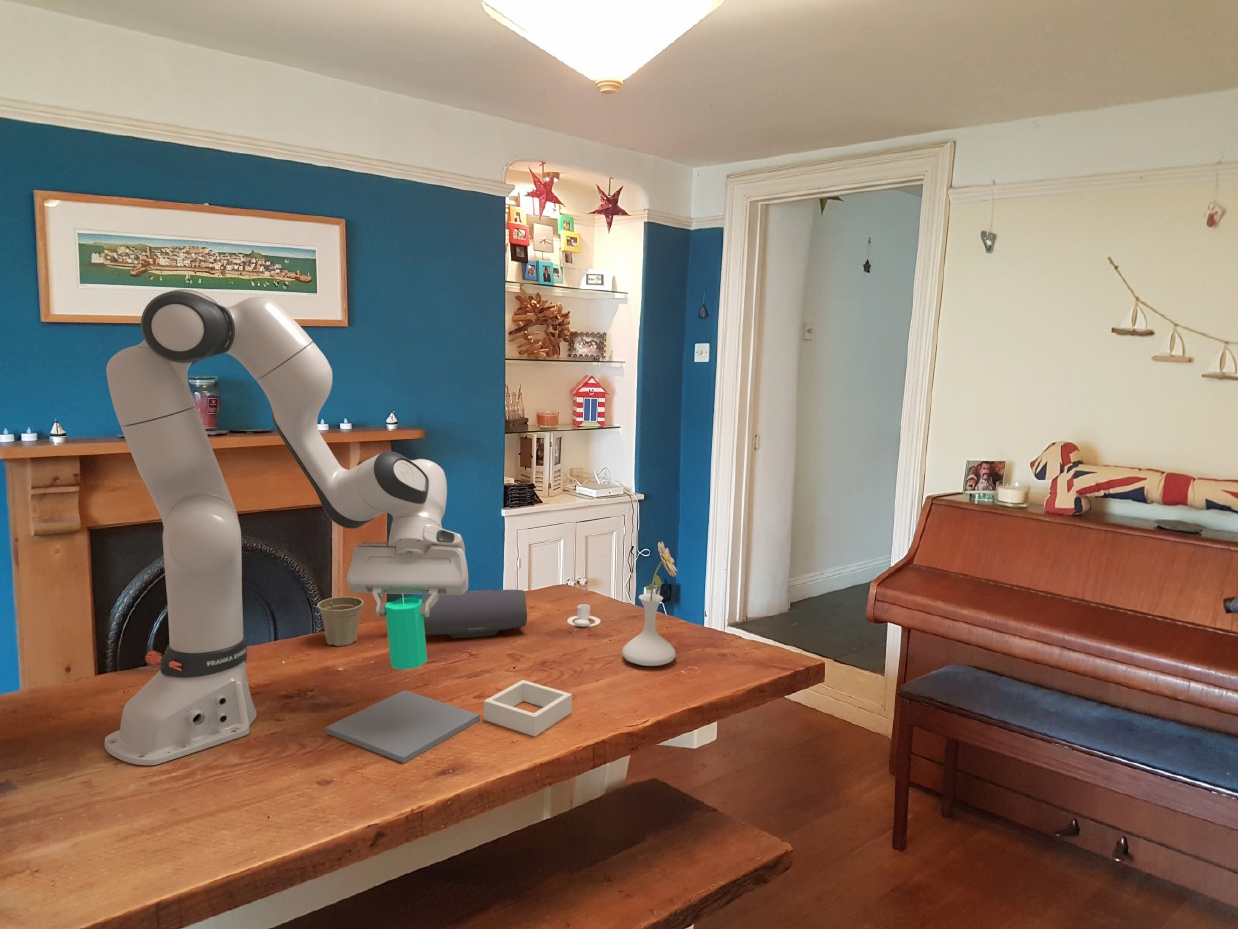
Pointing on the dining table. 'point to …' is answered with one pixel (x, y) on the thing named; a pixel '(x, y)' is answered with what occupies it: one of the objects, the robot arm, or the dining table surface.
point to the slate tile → (402, 725)
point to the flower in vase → (652, 624)
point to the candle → (406, 633)
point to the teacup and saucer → (583, 617)
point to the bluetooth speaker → (476, 613)
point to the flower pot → (340, 619)
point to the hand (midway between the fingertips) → (402, 615)
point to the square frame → (523, 721)
